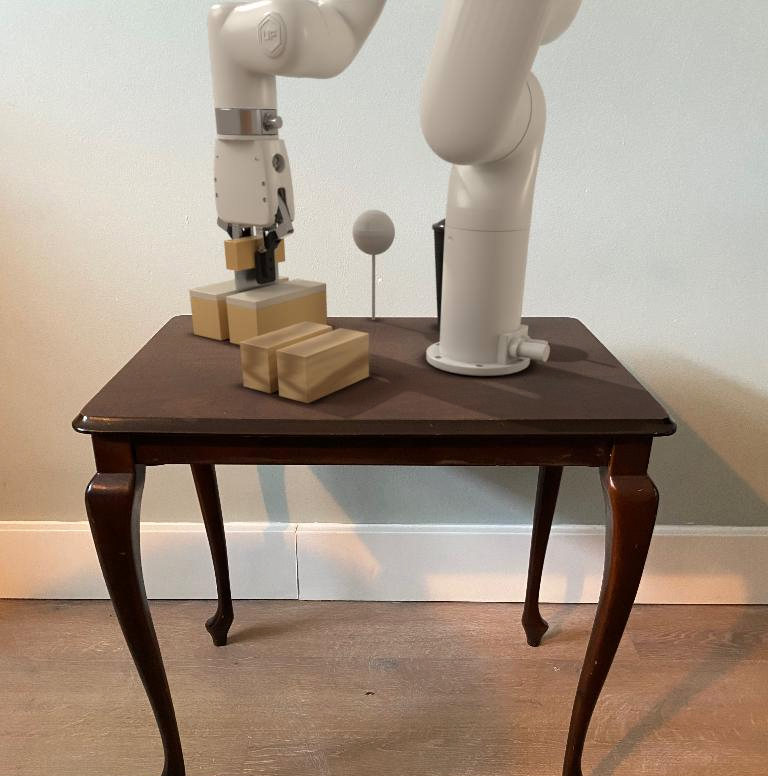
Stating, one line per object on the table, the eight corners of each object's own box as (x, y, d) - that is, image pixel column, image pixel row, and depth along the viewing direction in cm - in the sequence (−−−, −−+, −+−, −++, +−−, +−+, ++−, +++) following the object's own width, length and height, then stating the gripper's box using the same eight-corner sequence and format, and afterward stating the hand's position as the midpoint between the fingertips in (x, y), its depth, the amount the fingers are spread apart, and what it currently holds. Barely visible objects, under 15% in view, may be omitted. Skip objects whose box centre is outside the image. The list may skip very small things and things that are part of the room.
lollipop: (389, 326, 104) (390, 213, 96) (348, 323, 105) (347, 211, 97) (397, 315, 109) (399, 207, 102) (358, 313, 110) (358, 206, 103)
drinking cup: (485, 335, 100) (497, 175, 90) (429, 335, 100) (435, 174, 90) (479, 321, 106) (490, 170, 97) (426, 321, 106) (432, 170, 97)
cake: (327, 326, 103) (326, 283, 100) (259, 349, 93) (255, 301, 90) (264, 314, 109) (261, 272, 106) (194, 334, 99) (188, 289, 96)
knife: (288, 319, 104) (284, 234, 98) (243, 333, 97) (236, 242, 91) (276, 317, 105) (271, 232, 99) (231, 330, 98) (223, 240, 93)
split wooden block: (369, 376, 84) (369, 333, 82) (307, 403, 76) (305, 356, 74) (307, 362, 89) (305, 321, 86) (243, 386, 81) (239, 341, 78)
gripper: (317, 127, 88) (322, 284, 97) (222, 124, 96) (235, 269, 105) (275, 128, 82) (284, 294, 91) (178, 124, 90) (195, 278, 99)
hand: (258, 279), depth 98 cm, fingers closed on knife, 2 cm apart
